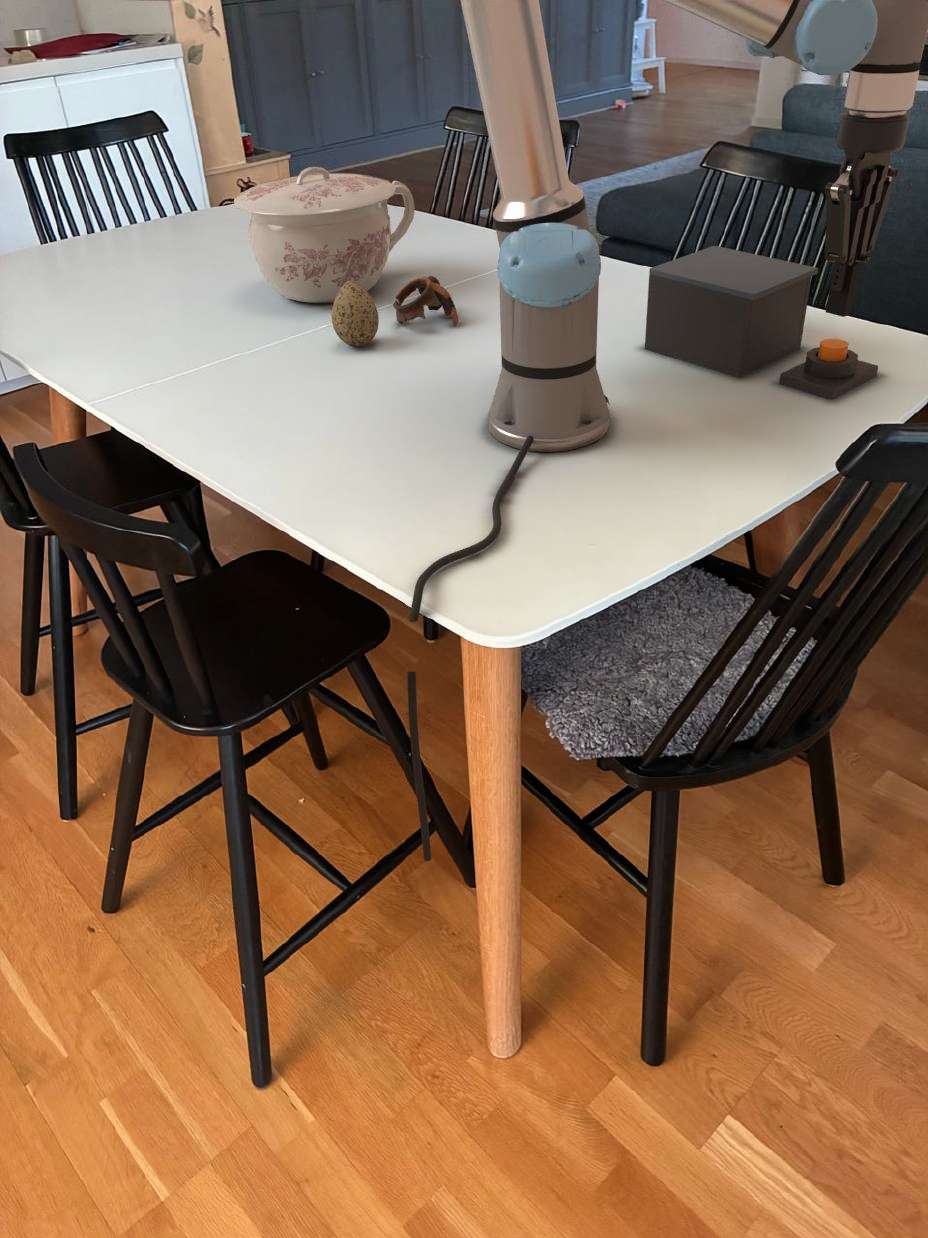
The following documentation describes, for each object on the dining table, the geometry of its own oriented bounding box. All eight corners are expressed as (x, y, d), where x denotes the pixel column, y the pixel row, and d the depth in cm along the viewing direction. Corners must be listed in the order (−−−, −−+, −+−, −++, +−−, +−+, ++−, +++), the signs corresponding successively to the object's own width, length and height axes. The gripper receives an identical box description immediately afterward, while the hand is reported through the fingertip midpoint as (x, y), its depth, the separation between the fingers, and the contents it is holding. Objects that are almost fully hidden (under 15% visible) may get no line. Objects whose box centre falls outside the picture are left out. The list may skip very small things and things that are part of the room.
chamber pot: (225, 314, 167) (199, 185, 154) (285, 267, 188) (267, 150, 176) (380, 320, 160) (366, 185, 148) (425, 270, 182) (416, 149, 170)
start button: (851, 357, 130) (854, 342, 129) (836, 365, 128) (839, 350, 127) (827, 351, 132) (829, 336, 131) (812, 358, 130) (814, 343, 129)
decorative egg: (390, 341, 152) (384, 277, 146) (361, 356, 148) (354, 290, 142) (355, 334, 156) (347, 271, 150) (326, 349, 151) (317, 284, 145)
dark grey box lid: (817, 273, 135) (818, 267, 134) (753, 300, 127) (754, 294, 127) (713, 250, 146) (714, 245, 145) (649, 273, 138) (649, 268, 138)
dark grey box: (800, 348, 141) (812, 272, 135) (738, 378, 134) (748, 299, 128) (706, 322, 152) (713, 251, 146) (644, 348, 144) (649, 274, 138)
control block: (876, 376, 132) (881, 351, 130) (831, 400, 127) (836, 374, 125) (824, 361, 137) (828, 337, 135) (778, 384, 132) (782, 359, 130)
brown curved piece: (461, 335, 154) (434, 294, 149) (412, 359, 158) (383, 320, 153) (465, 292, 162) (439, 252, 156) (418, 316, 166) (391, 278, 160)
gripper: (876, 100, 118) (839, 294, 132) (815, 115, 112) (783, 318, 126) (935, 106, 114) (890, 307, 128) (875, 122, 107) (835, 332, 121)
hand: (837, 312), depth 127 cm, fingers closed
